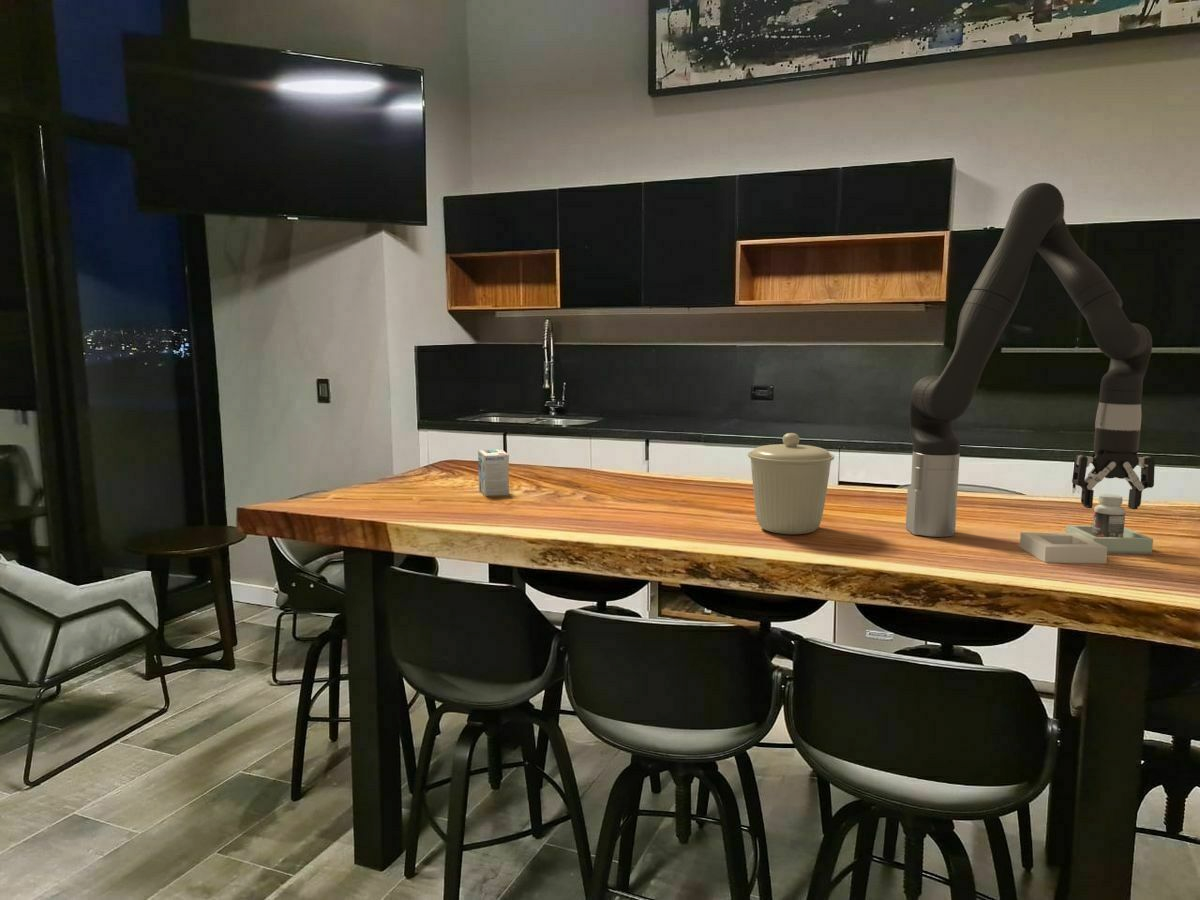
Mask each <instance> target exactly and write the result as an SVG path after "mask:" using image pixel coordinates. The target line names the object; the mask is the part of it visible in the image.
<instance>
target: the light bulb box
mask: <svg viewBox="0 0 1200 900" xmlns="http://www.w3.org/2000/svg"><path fill="white" fill-rule="evenodd" d="M477 454H478V455H477V457H478V459H477V460H478V461H477V462H478V489H479V491H480V492H481V493H482V494H483V495H484V496H485V497H487V496H488V497H489V496H491V497H492V496H509V495H510V467H509V466H510V464H509V463H510V459H509V458H510V455H509V453H507V452H506V451H505V450H503V449H501V448H499V449H482V450H481V449H479V450H478V451H477Z"/></svg>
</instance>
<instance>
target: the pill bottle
mask: <svg viewBox="0 0 1200 900" xmlns="http://www.w3.org/2000/svg"><path fill="white" fill-rule="evenodd" d="M1098 503H1099V504H1097V505H1095V506H1094V509H1093V515H1092V516H1093V519H1092V525H1093V526H1092V535H1093V536H1095V537H1123V534H1124V527H1125V523H1126V521H1125V520H1126V509H1125V508H1124V507H1122V505H1123V496H1121V495H1117V494H1111V493H1109V494H1108V493H1101V494H1099V495H1098Z"/></svg>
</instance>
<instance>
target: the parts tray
mask: <svg viewBox="0 0 1200 900" xmlns="http://www.w3.org/2000/svg"><path fill="white" fill-rule="evenodd" d="M1092 526H1093V524H1092V525H1090V524H1088V525H1085V524H1084V525H1082V524H1081V525H1079V524H1076V525H1075V524H1072V525H1069V524H1067V525H1066V529H1065V533H1079V534H1081V535H1083V536H1085V537H1087V538H1089V539H1091V540H1093V541H1095V542H1097V543H1099V544H1101V545H1103V546H1105V547H1107V555H1108V554H1110V555H1113V554H1114V555H1115V554H1116V555H1153V554H1152V553H1153V548H1154V547H1153V546H1154V545H1153V544H1154V539H1153V538H1152V537H1150V536H1147V535H1144V534H1142V533H1140V532H1137V531H1135V530H1133V529H1130V528H1128V527H1125V526H1124V534H1123V537H1095V536H1093V535H1092Z"/></svg>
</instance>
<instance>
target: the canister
mask: <svg viewBox="0 0 1200 900" xmlns="http://www.w3.org/2000/svg"><path fill="white" fill-rule="evenodd" d="M799 443H800V436H799V435H798V434H797V433H794V432H788V433H785V434H784V435H783V436H782V443H781V444H780V443H779V444H765V445H760V446H757V447H755V448H754V449H753V450H751V451H749V452H747V457H748V458H749V459H750V466H751V467H750V468H751V478H752V479H751V480H752V490H753V501H754V511H755V517H756V522H757V524H758V525H759V526H760V528H761V529H763V530H764V531H767V532H770V533H774V534H783V535H803V534H805V535H806V534H810V533H812V532H815V531H816V530H818V528H819V527H820V525H821V524H822V523H821V522H822V521H823V515H824V514H823V513H824V510H825V504H826V498H827V491H828V484H829V479H830V478H829V477H830V471H831V465H832V464H831V463H832V461H833V460H835V455H834V454H832V453H830V452H829V450H827V449H825V448H822V447H819V446H814V445H807V444H799Z"/></svg>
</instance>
